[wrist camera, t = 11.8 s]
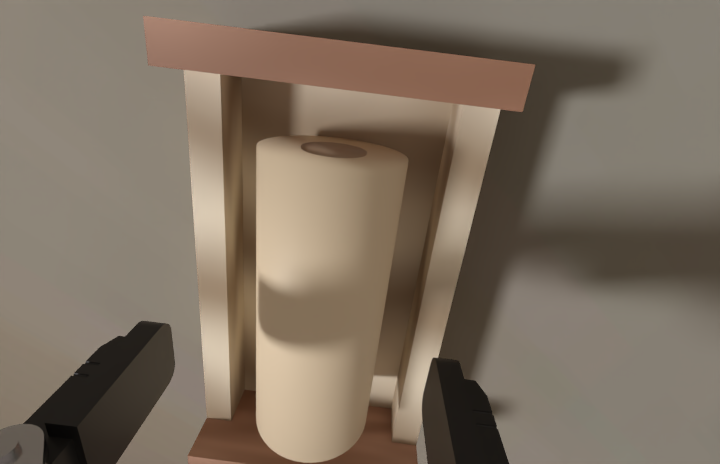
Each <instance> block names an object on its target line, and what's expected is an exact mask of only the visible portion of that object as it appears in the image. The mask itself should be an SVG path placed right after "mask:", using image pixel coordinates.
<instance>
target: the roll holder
mask: <svg viewBox="0 0 720 464" xmlns="http://www.w3.org/2000/svg"><path fill="white" fill-rule="evenodd" d="M143 18H144V28H145V38H146V48H147V58H148V65H150V66H158V67H166V68H174V69H182V70H184V80H185V95H186V110H187V125H188V140H189V155H190V170H191V185H192V200H193V215H194V230H195V245H196V260H197V275H198V290H199V305H200V320H201V335H202V350H203V365H204V380H205V395H206V410H207V419H206V421H205V423H204V425H203V427H202V429H201V431H200V433H199V435H198V437H197V439H196V441H195V443H194V445H193V446H192V448H191V450H190V452H189V454H188V464H418V462H417V451H416V443H417V439H418V435H419V431H420V427H421V423H422V398H423V392H424V388H425V384H426V380H427V376H428V372H429V368H430V364H431V361H432V359H433V358H438V356H439V352H440V348H441V344H442V340H443V336H444V332H445V328H446V324H447V320H448V316H449V312H450V308H451V304H452V300H453V296H454V292H455V288H456V284H457V281H458V277H459V273H460V269H461V265H462V261H463V257H464V253H465V249H466V245H467V241H468V237H469V233H470V229H471V225H472V221H473V217H474V213H475V209H476V205H477V201H478V197H479V193H480V189H481V185H482V181H483V177H484V173H485V169H486V165H487V161H488V157H489V153H490V150H491V146H492V142H493V138H494V134H495V130H496V126H497V122H498V118H499V114H500V110H509V111H517V112H523V109H524V105H525V101H526V98H527V94H528V91H529V87H530V83H531V80H532V76H533V72H534V69H535V65H534V64H526V63H518V62H510V61H502V60H494V59H486V58H478V57H470V56H462V55H454V54H446V53H438V52H430V51H422V50H414V49H406V48H398V47H390V46H382V45H374V44H366V43H357V42H349V41H341V40H333V39H325V38H317V37H309V36H301V35H293V34H285V33H277V32H269V31H261V30H253V29H245V28H237V27H229V26H221V25H213V24H205V23H197V22H189V21H181V20H173V19H165V18H156V17H148V16H143ZM294 135H307V136H326V137H337V138H345V139H352V140H358V141H364V142H369V143H373V144H377V145H381V146H385V147H388V148H391V149H394V150H396V151H399V152H401V153H402V154H404V155H405V156H407V158H408V160H409V162H408V168H407V174H406V180H405V186H404V192H403V198H402V204H401V210H400V216H399V223H398V229H397V235H396V241H395V247H394V253H393V259H392V265H391V271H390V277H389V284H388V290H387V296H386V302H385V308H384V314H383V320H382V326H381V332H380V338H379V345H378V351H377V357H376V363H375V369H374V375H373V381H372V387H371V393H370V399H369V406H368V412H367V418H366V423H365V427H364V430H363V432H362V434H361V436H360V438H359V439H358V441H357V442H356V443H355V444H354V445H353V446H352V447H351V448H350V449H349V450H348V451H346V452H345V453H343V454H342V455H340V456H338V457H336V458H333V459H330V460H327V461H323V462H316V463H303V462H297V461H293V460H290V459H287V458H285V457H282V456H280V455H279V454H277V453H276V452H274V451H273V450H272V449H271V448H269V447H268V446H267V444H266V443H265V442H264V441H263V439H262V437H261V436H260V433H259V431H258V428H257V424H256V145H257V143H258V142H259V141H261V140H264V139H267V138H271V137H278V136H294Z"/></svg>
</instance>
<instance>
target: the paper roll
mask: <svg viewBox="0 0 720 464" xmlns="http://www.w3.org/2000/svg"><path fill="white" fill-rule="evenodd" d="M408 162H409V160H408V158H407V156H405V155H404V154H402V153H401V152H399V151H396V150H394V149H391V148H388V147H385V146H381V145H377V144H373V143H369V142H364V141H358V140H352V139H345V138H337V137H326V136H307V135H294V136H278V137H271V138H267V139H264V140H261V141H259V142H258V143H257V145H256V424H257V428H258V431H259V433H260V436H261V437H262V439H263V441H264V442H265V443H266V444H267V446H268V447H269V448H271V449H272V450H273V451H274V452H276V453H277V454H279V455H280V456H282V457H285V458H287V459H290V460H293V461H297V462H303V463H316V462H323V461H327V460H330V459H333V458H336V457H338V456H340V455H342V454H343V453H345V452H346V451H348V450H349V449H350V448H351V447H352V446H353V445H354V444H355V443H356V442H357V441H358V439H359V438H360V436H361V434H362V432H363V430H364V427H365V423H366V418H367V412H368V406H369V399H370V393H371V387H372V381H373V375H374V369H375V363H376V357H377V351H378V345H379V338H380V332H381V326H382V320H383V314H384V308H385V302H386V296H387V290H388V284H389V277H390V271H391V265H392V259H393V253H394V247H395V241H396V235H397V229H398V223H399V216H400V210H401V204H402V198H403V192H404V186H405V180H406V174H407V168H408Z"/></svg>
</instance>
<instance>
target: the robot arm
mask: <svg viewBox="0 0 720 464" xmlns="http://www.w3.org/2000/svg"><path fill="white" fill-rule="evenodd" d="M174 367H175V359H174V351H173V342H172V333H171V327H170V325H169V324H165V323H157V322H149V321H141V322H139V323H138V324H137V325H136V326H135V327H134V328H133V329H132V330H131V331H130V332H129V333H128V334H127V335H126V336H125V337H123V336H118V337H116V338H115V339H113V340H111V341H110V342H108V343H106V344H104V345H103V346H101V347H100V348H99V349H98V350H97V351H96V352H95V353H94V354H93V355H92V356H91V357H90V358H89V359H88V360H87V361H86V363H85V364H83V365H82V366H81V367H80V368H79V369H78V370H77V371H76V372H75V373H74V376H71V377H70V378H69V379H68V380H67V381H66V382H65V383H64V384H63V385H62V386H61V387H60V388H59V389H58V390H57V391H56V392H55V393H54V394H53V395H52V396H51V397H50V398H49V399H48V400H47V401H46V402H45V403H44V404H43V405H42V406H41V407H40V408H39V409H38V410H37V411H36V412H35V413H34V414H33V415H32V416H31V417H30V418H29V419H28V420H27V421H26V422H25V423H23V424H19V425H13V426H9V427H6V428H3V429H1V430H0V464H116V463H117V461H118V460H119V458H120V457H121V455H122V454H123V452H124V451H125V449H126V448H127V446H128V445H129V443H130V442H131V440H132V439H133V437H134V436H135V434H136V433H137V431H138V430H139V428H140V427H141V425H142V424H143V422H144V421H145V419H146V418H147V416H148V415H149V413H150V412H151V410H152V408H153V407H154V405H155V404H156V402H157V401H158V399H159V398H160V396H161V395H162V393H163V392H164V390H165V389H166V387H167V386H168V384H169V383H170V381H171V378H172V376H173V372H174ZM422 419H423V428H424V436H425V444H426V452H427V461H428V464H509V462H508V459H507V456H506V453H505V450H504V447H503V444H502V441H501V438H500V435H499V431H498V429H497V428H496V427H497V425H496V422H495V419H494V416H493V415H492V410H491V407H490V404H489V401H488V398H487V395H486V394H485V393H484V391H483V390H482V389H481V388H480V386H479V385H478V384H477V382H476V381H473V380H465V379H464V377H463V374H462V370H461V366H460V363H459V361H457V360H450V359H442V358H433V359H432V361H431V364H430V368H429V372H428V376H427V380H426V384H425V388H424V392H423V398H422Z"/></svg>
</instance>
